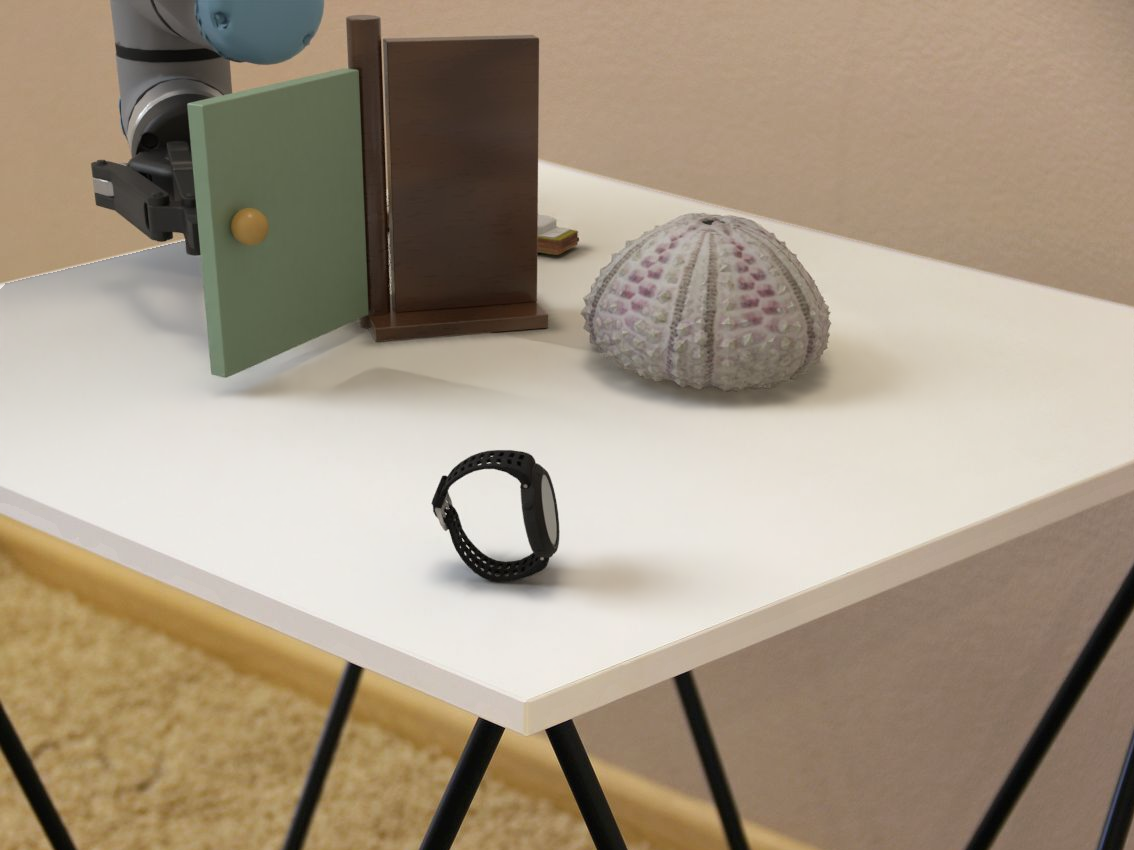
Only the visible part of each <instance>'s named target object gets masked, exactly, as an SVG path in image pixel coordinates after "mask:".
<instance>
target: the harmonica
mask: <svg viewBox="0 0 1134 850" xmlns="http://www.w3.org/2000/svg"><path fill="white" fill-rule="evenodd" d="M387 220H388V229H389V204H387ZM579 242H580V237H579V231H578V230H576V229H571V228H570V227H569V228H567V227H562V226H557V218H556V217H554V216H549V215H546V214H545V215H544V214H540V213H538V240H537V254H538V253H540V254H545V255H557V256H559V255H561V254H563V253H564V252H567V251H569V250H570V249H572V248H574V247H576V246H578V243H579Z"/></svg>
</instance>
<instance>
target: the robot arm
mask: <svg viewBox="0 0 1134 850" xmlns="http://www.w3.org/2000/svg"><path fill="white" fill-rule="evenodd" d="M109 3H110V11H111V19H112V28H113V35H114V36H113V37H114V45H115V60H116V61H115V63H116V69H117V70H116V72H117V80H118V88H119V98H118V110H119V115H120V117H119V124H120V128H121V132H122V134H123V136H124V137H125V139H126V141H127V145H128V148H129V151H130V155H131V158H130V159H128V160H129V161H128V162H120V163H117V162H113V161H109V160H106V159H97V160H96V161H93V162H91V163H90V166H91V167H90V168H91V175H92V176H91V177H92V178H91V179H92V185H93V192H94V198H95V199H94V201H95V205H96V206H97V207H101V208H104V209H108V210H110V211H115V212H116V213H117V214H118V215H119V216H121V218H123V219H124V220H126V221H127V222H129V224H131V225H132V226H134V227H135V228H136V229H137V230H139V231H140V232H141V233H143V235H145V236H146V237H147V238H149V239H150V240H151V241H155V242H158V243H159V242H160V243H163V242H167V241H171V240H172V239H174V233H176V234H177V233H178V234H183V237H184V241H185V243H184V244H185V251H186V253H185V254H187V255H188V256H201V253H200V242H199V231H198V219H197V208H196V197H195V185H194V174H193V163H192V151H191V140H190V129H189V117H188V106H187V104H188V103H191V102H196V101H200V100H205V99H209V98H213V97H218V96H222V95H227V94H231V93H233V84H232V83H233V82H232V73H231V72H232V71H231V62H234V63H249V64H254V65H257V66H259V65H260V66H269V65H270V66H271V65H277V64H281V63H285V62H287V61H288V60H291V59H292V58H294V57H296V56H297V55H299V54H300V53H301V52H302V51H303V50H305V48H306V47H308V46H309V45H310V43H311V41H312V39H314V38H315V36H316V35H317V32H318V30H319V28H320V26H321V23H322V20H323V15H324V9H325V0H109Z"/></svg>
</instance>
